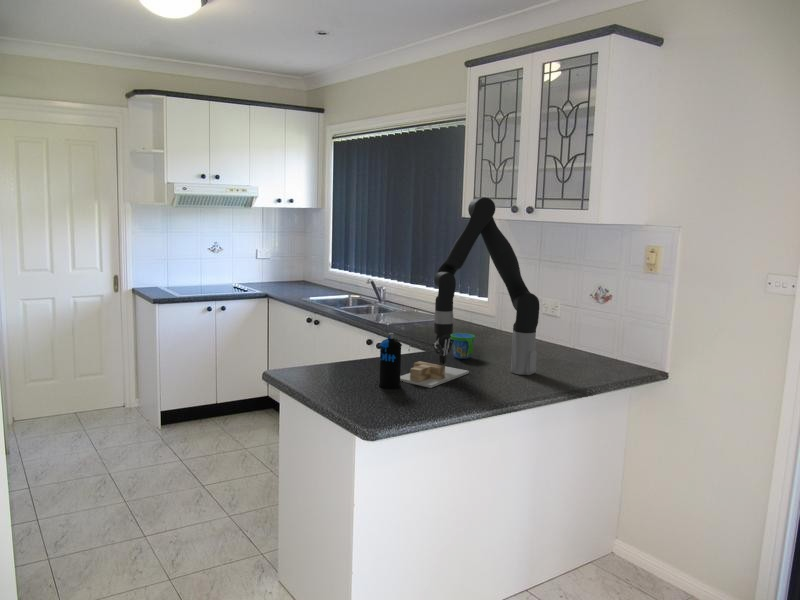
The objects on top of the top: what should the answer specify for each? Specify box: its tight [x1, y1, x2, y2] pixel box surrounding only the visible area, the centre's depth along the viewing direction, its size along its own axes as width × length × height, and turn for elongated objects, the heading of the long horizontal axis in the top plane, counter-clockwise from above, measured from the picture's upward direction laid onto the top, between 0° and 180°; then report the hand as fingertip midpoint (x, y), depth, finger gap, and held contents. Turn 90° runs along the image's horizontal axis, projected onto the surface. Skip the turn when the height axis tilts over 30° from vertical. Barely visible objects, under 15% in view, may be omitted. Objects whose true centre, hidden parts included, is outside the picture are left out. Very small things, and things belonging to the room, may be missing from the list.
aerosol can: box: [378, 332, 403, 390], centre depth 244 cm, size 8×8×20 cm
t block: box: [409, 360, 445, 382], centre depth 254 cm, size 12×12×4 cm
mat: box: [400, 365, 470, 389], centre depth 261 cm, size 16×28×1 cm, turn 144°
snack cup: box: [450, 332, 476, 360], centre depth 294 cm, size 16×10×10 cm
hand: (442, 364), depth 265 cm, fingers closed
